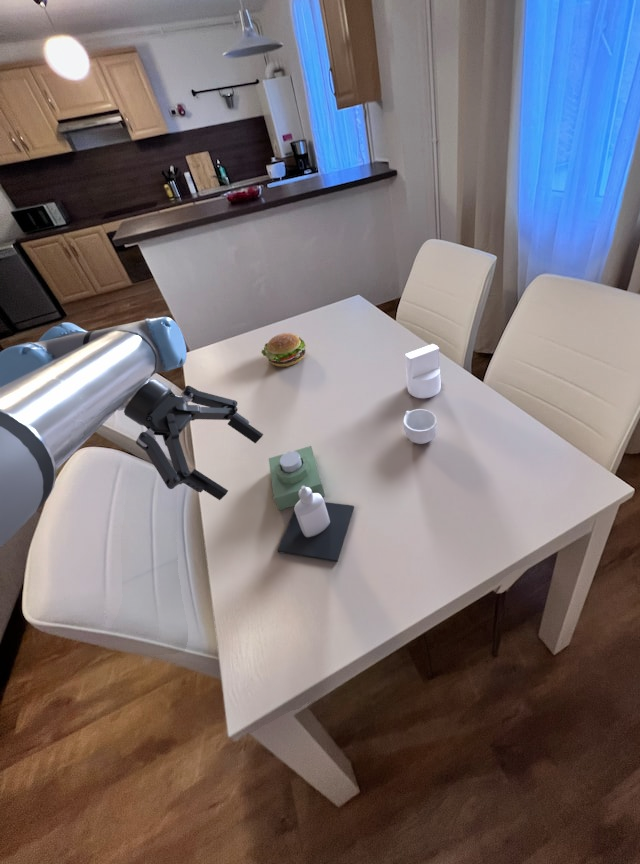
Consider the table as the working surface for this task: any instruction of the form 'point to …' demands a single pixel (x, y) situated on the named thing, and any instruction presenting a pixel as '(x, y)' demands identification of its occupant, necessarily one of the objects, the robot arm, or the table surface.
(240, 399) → the table surface
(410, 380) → the cylinder with rectangular tab
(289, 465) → the grey round button
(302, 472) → the green button base
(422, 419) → the teacup
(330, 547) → the mat
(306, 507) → the eye dropper bottle
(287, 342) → the food
